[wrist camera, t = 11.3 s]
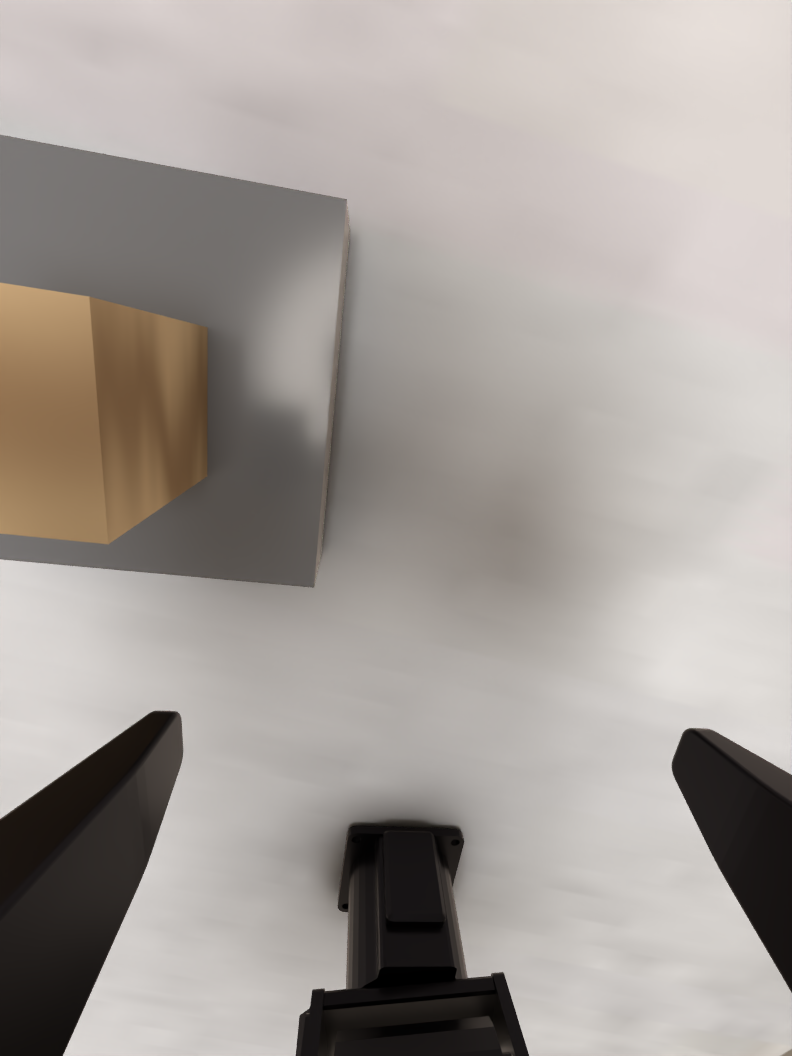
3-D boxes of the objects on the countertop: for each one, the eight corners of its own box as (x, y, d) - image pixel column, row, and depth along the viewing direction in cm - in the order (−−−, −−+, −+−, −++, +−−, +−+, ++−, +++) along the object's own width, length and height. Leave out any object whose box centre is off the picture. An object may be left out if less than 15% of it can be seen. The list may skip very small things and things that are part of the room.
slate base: (321, 554, 19) (313, 587, 16) (17, 524, 18) (-48, 554, 15) (349, 230, 15) (347, 199, 12) (-38, 161, 14) (-141, 108, 11)
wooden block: (207, 476, 15) (108, 543, 9) (59, 458, 14) (-144, 519, 8) (207, 327, 13) (89, 296, 7) (43, 302, 13) (-217, 248, 7)
